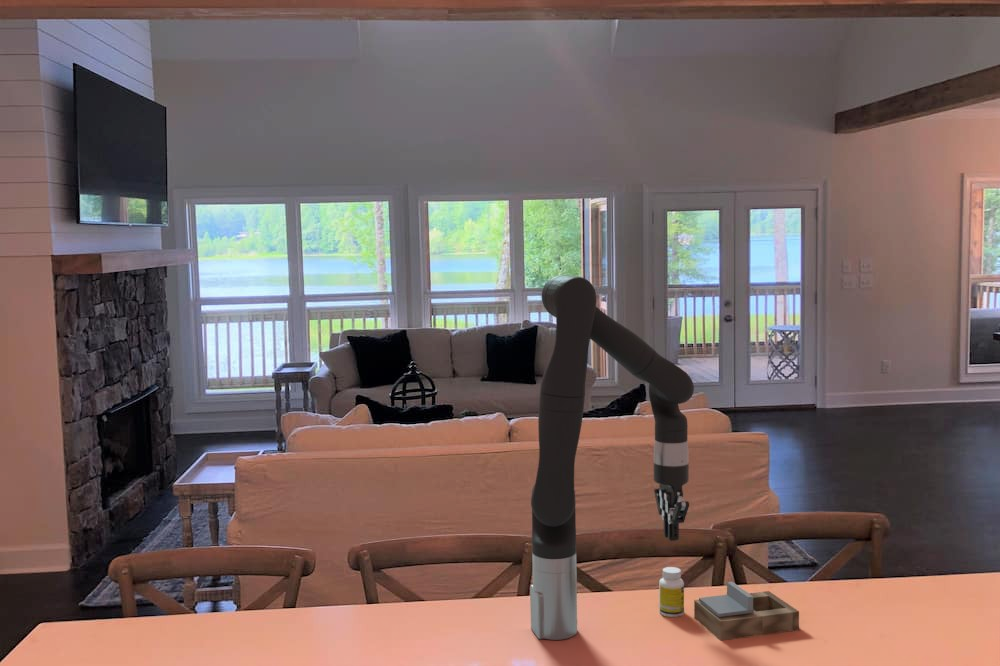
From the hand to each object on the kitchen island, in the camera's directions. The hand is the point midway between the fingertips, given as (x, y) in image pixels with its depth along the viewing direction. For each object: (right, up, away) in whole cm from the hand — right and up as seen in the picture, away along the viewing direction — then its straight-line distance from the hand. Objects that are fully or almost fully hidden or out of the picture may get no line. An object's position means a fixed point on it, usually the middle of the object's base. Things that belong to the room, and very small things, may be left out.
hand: (671, 538), depth 199 cm
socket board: (+15, -17, -5) cm, 23 cm away
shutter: (+10, -13, -7) cm, 18 cm away
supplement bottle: (0, -17, +2) cm, 17 cm away
